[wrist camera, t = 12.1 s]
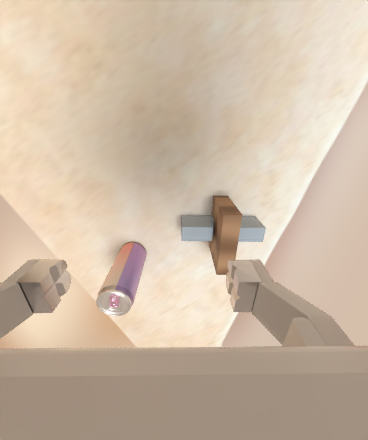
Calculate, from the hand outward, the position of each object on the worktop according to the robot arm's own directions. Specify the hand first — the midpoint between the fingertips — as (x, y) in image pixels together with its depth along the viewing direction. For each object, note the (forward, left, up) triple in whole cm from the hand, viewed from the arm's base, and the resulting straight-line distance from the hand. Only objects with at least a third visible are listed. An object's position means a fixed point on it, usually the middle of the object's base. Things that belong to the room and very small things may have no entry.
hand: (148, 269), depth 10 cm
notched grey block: (+11, +10, -30) cm, 34 cm away
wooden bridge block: (+11, +10, -30) cm, 34 cm away
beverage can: (+19, -9, -30) cm, 37 cm away
